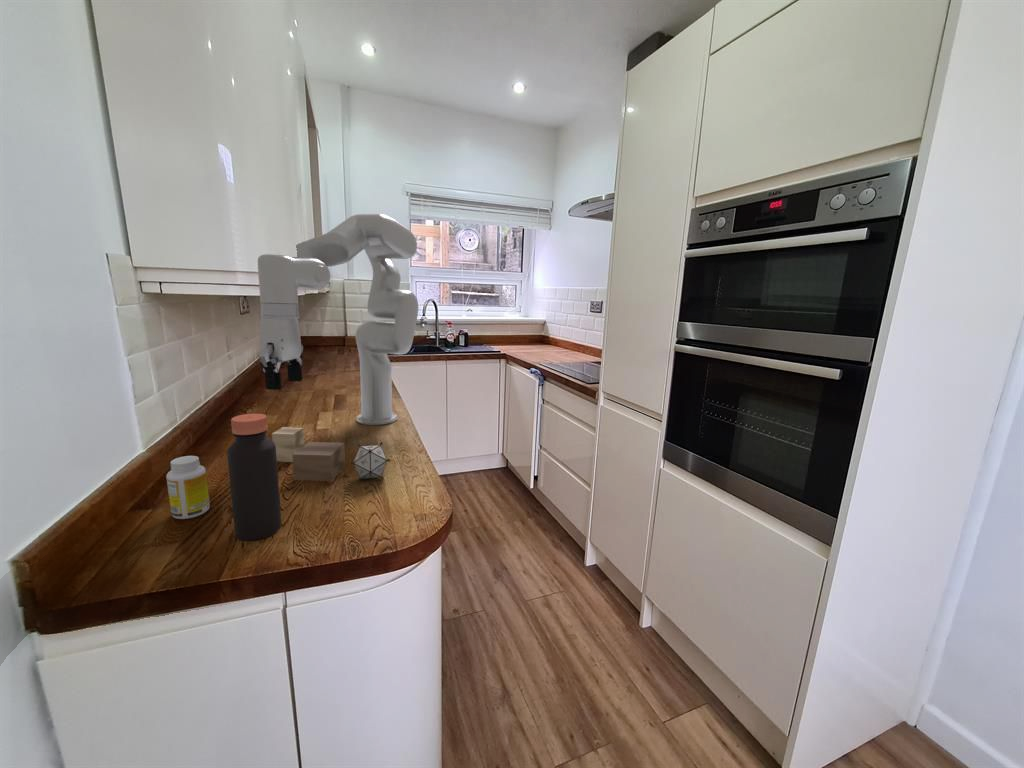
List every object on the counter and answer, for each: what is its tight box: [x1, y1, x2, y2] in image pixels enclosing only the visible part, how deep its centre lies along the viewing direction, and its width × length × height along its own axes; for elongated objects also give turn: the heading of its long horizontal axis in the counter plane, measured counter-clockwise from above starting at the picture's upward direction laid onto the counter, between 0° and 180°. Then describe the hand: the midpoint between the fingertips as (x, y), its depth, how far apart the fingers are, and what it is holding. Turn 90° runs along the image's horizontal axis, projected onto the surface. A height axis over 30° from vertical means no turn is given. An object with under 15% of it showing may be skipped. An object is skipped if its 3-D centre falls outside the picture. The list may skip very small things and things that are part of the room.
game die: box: [349, 441, 391, 483], centre depth 92 cm, size 9×8×10 cm
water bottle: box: [226, 413, 282, 542], centre depth 69 cm, size 7×7×20 cm
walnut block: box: [292, 441, 346, 482], centre depth 94 cm, size 8×8×6 cm
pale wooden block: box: [271, 426, 305, 463], centre depth 101 cm, size 5×5×7 cm
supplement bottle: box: [165, 455, 211, 520], centre depth 74 cm, size 6×6×10 cm
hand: (285, 384), depth 98 cm, fingers open, 9 cm apart
